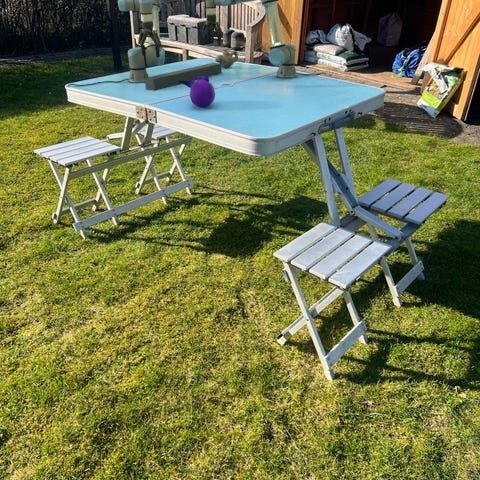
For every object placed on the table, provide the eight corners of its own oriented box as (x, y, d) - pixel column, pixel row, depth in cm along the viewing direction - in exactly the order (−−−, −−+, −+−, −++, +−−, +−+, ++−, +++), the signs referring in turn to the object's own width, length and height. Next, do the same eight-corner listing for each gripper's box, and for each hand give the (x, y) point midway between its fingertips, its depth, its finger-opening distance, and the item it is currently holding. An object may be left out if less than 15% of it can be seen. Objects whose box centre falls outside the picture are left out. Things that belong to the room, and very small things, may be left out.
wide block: (154, 90, 311) (153, 79, 307) (145, 88, 315) (144, 77, 311) (221, 73, 362) (221, 63, 358) (213, 72, 366) (213, 62, 362)
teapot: (219, 70, 373) (218, 50, 365) (212, 68, 382) (211, 49, 374) (241, 67, 382) (240, 48, 375) (234, 65, 391) (233, 46, 383)
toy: (202, 98, 286) (215, 113, 265) (176, 93, 278) (186, 109, 258) (208, 73, 277) (221, 86, 257) (180, 67, 270) (192, 81, 249)
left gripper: (164, 21, 290) (168, 56, 301) (138, 20, 303) (142, 54, 314) (156, 22, 285) (160, 58, 296) (130, 21, 298) (134, 55, 309)
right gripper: (227, 14, 335) (228, 45, 346) (202, 13, 348) (203, 43, 359) (220, 15, 330) (222, 46, 341) (195, 14, 343) (197, 44, 354)
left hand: (151, 56), depth 305 cm, fingers open, 13 cm apart
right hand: (212, 45), depth 350 cm, fingers open, 13 cm apart
